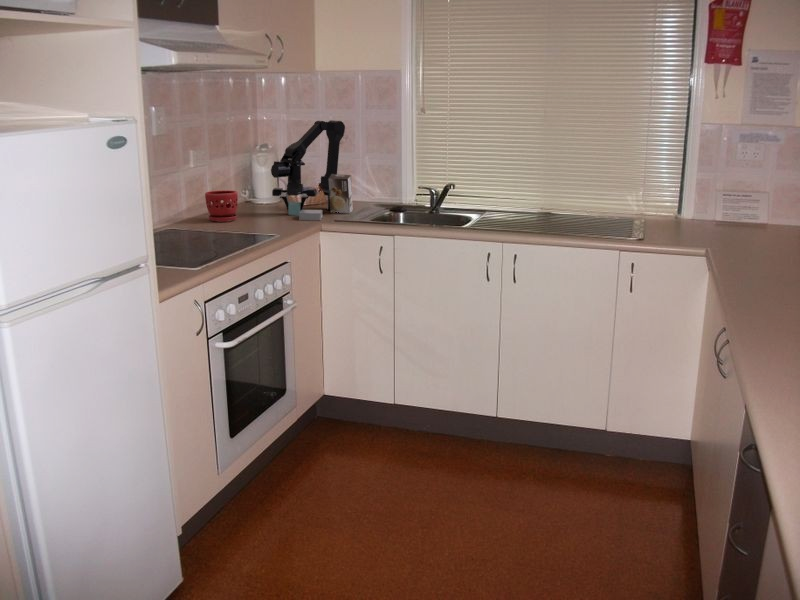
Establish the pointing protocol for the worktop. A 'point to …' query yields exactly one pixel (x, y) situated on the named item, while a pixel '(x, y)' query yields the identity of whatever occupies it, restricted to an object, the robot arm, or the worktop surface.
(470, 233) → the worktop surface
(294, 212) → the teal cube
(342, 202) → the coffee box
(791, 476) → the worktop surface
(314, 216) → the stone plinth
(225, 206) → the plant pot
